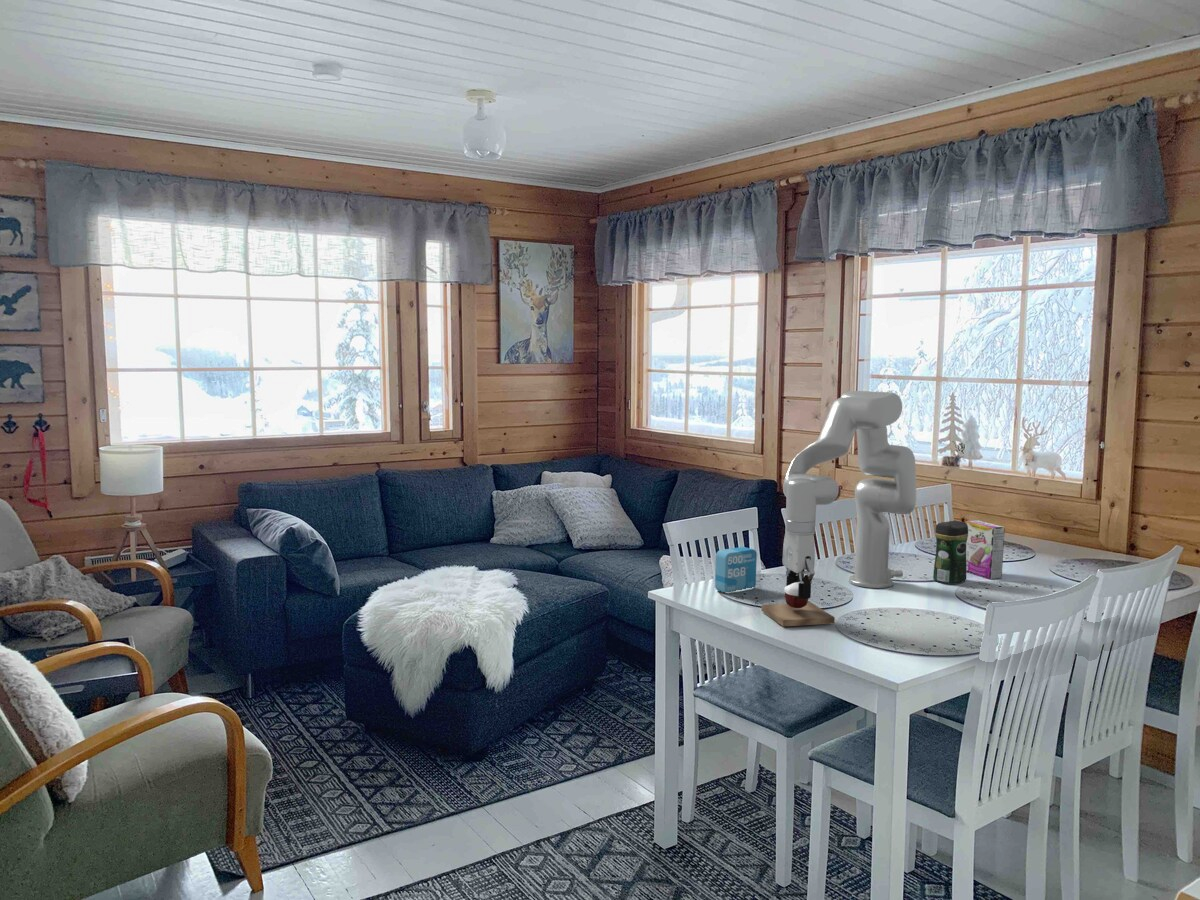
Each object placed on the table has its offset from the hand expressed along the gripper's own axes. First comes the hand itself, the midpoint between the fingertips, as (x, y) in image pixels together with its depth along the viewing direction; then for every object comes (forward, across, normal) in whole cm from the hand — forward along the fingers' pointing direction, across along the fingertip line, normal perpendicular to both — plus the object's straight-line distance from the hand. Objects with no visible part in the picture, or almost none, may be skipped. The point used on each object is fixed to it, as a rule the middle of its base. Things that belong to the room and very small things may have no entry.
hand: (798, 593), depth 234 cm
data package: (+7, -29, -6) cm, 30 cm away
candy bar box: (+7, -32, +77) cm, 83 cm away
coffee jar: (+7, -27, +62) cm, 68 cm away
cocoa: (+3, 0, 0) cm, 3 cm away
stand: (+6, 0, 0) cm, 6 cm away
